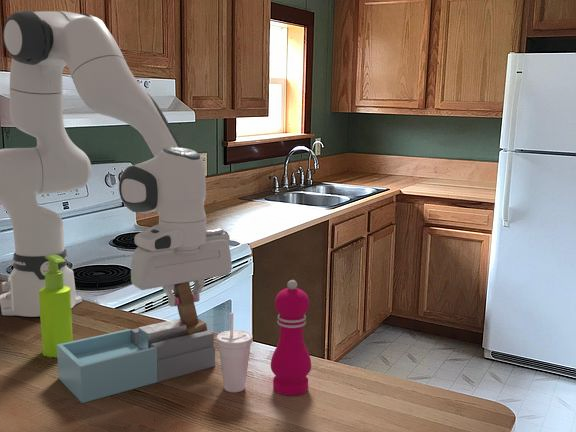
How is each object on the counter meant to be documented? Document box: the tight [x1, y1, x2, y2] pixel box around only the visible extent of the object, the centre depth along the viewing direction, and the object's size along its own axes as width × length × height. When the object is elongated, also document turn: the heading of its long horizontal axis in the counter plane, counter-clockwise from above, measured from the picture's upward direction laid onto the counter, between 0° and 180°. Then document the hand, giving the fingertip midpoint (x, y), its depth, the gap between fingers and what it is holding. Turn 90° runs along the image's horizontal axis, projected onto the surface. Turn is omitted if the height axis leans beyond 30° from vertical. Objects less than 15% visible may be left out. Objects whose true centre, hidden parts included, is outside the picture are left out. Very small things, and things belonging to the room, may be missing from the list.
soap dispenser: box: [39, 255, 74, 358], centre depth 126 cm, size 6×7×20 cm
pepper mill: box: [270, 279, 312, 397], centre depth 111 cm, size 7×7×20 cm
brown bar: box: [172, 282, 208, 335], centre depth 123 cm, size 6×4×12 cm
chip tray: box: [56, 328, 159, 404], centre depth 115 cm, size 12×14×6 cm
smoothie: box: [216, 312, 254, 393], centre depth 112 cm, size 6×6×14 cm
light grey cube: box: [137, 322, 168, 350], centre depth 120 cm, size 4×4×4 cm
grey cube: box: [158, 319, 187, 340], centre depth 122 cm, size 4×4×4 cm
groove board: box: [130, 318, 216, 383], centre depth 122 cm, size 12×12×6 cm
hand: (184, 303), depth 123 cm, fingers closed on brown bar, 3 cm apart
